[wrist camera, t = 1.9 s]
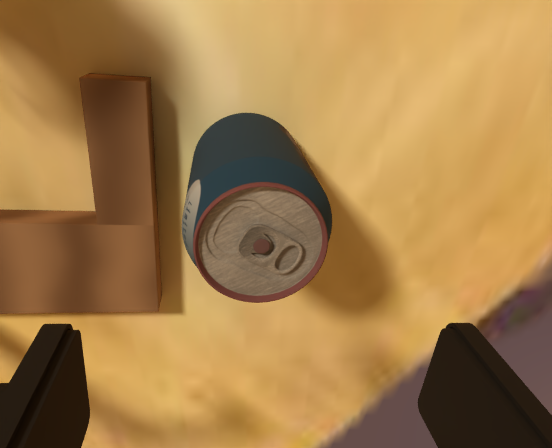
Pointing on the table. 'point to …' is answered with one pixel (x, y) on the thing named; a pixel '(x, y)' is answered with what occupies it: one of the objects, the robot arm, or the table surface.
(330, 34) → the table surface
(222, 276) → the soda can
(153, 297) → the u-shaped wooden block
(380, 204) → the table surface
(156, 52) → the table surface
